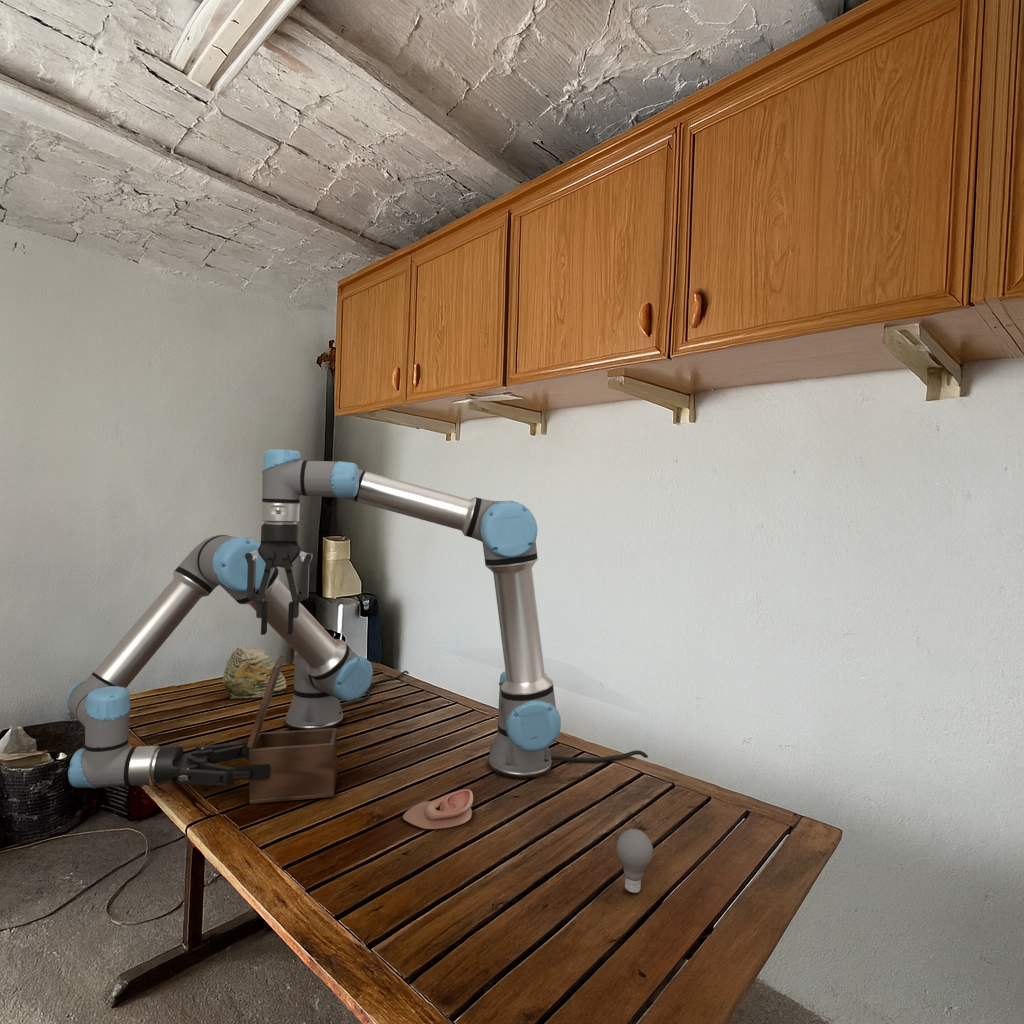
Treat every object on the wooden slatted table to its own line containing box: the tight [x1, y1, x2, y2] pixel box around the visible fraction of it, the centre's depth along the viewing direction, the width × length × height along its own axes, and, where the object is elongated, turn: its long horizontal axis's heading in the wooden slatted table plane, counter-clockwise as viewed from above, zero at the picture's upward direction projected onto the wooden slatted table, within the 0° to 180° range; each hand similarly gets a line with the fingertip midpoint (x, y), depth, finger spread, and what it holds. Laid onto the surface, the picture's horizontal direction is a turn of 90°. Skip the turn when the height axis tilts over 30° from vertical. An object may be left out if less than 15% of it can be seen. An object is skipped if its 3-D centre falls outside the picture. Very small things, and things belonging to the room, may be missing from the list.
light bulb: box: [615, 828, 654, 894], centre depth 106 cm, size 6×6×10 cm
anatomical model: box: [402, 788, 474, 830], centre depth 128 cm, size 13×4×12 cm
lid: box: [235, 654, 286, 748], centre depth 133 cm, size 17×9×8 cm
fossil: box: [222, 646, 288, 699], centre depth 198 cm, size 9×18×15 cm, turn 132°
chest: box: [248, 727, 338, 805], centre depth 135 cm, size 17×9×11 cm, turn 101°
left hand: (273, 760), depth 135 cm, fingers closed on chest, 9 cm apart
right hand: (277, 633), depth 134 cm, fingers open, 5 cm apart
